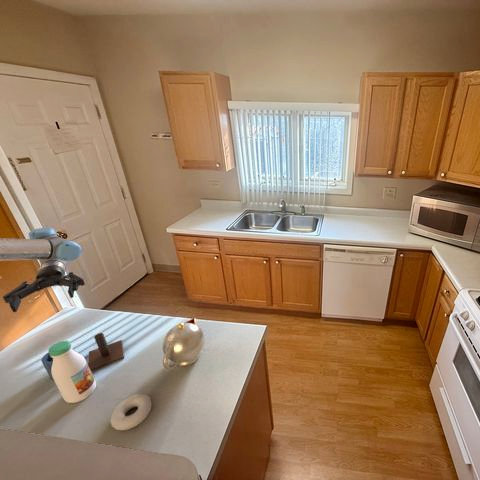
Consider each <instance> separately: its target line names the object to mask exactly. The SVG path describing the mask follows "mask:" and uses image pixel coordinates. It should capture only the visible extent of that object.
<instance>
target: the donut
mask: <svg viewBox="0 0 480 480" xmlns="http://www.w3.org/2000/svg"><path fill="white" fill-rule="evenodd" d="M134 408H137V410H136V411H135V412H134V413H132V414H129V415H126V414H127V413H128V412H129V411H130V410H131V409H134ZM151 409H152V400H151V398H150V396H148V395H146V394H142V393H139V394H134V395H132V396H129V397H127V398H126V399H124V400H122V401H121V402H120V403H119V404H117V406H116V407H115V408H114V410H113V411H112V414H111V415H110V425H111V427H112V428H113V429H114V430H115V431H122V432H123V431H128V430H130V429H133V428H135V427H136V426H138V425H139V424H141V423H142V422H143V421H144V420H146V418H147V416H148V415H149V414H150V411H151Z"/></svg>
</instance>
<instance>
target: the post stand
mask: <svg viewBox="0 0 480 480" xmlns="http://www.w3.org/2000/svg"><path fill="white" fill-rule="evenodd" d="M93 337H94V338H93V339H94V340H95V343H96V346H97V348H95V349H92V350H89V351H88V359H87V361H88V362H87V364H88V366H89V368H90V370H91V372H94V371H96V370H99V369H101V368H103V367H105V366H109V365H111V364H114V363H117V362H119V361H122V360H123V359H125V353H124V343H123V342H124V341H123V339H120V340H118V341H117V340H116V341H114V342H111V343H109V344H108V342H107V340H106V337H105V333H104V332H100V333H97V334H95V335H94V336H93Z"/></svg>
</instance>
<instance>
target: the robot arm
mask: <svg viewBox="0 0 480 480" xmlns="http://www.w3.org/2000/svg"><path fill="white" fill-rule="evenodd" d="M81 254H82V247H81V245H80V244H79V243H76V242H75V241H73V240H69V239H67V238H63V237H61V236H58V233H57V232H56V230H55V229H54V228H53V227H39V228H35V229H32V230H30V231H29V232H28V238H1V237H0V262H7V261H8V262H10V261H12V262H13V261H36V260H39V263H40V266H39V269H38V271H37V274H36V276H35V280H33V281H32V282H28V281H27V280H25V281H23V282H21V283H20V284H19V285H17V287H15V288H14V289H12V290H11V291H9V292H7V293H6V294H5V295H3V296H2V299H3V301H4V302H5V304H8V305H9V308H10V309H11V311H12V313H17V312H18V310H19V307H20V305H21V302H22V300H23V299H25V298H27V297H28V296H31V295H32V294H34V293H36V292H40V291H42V290H44V289H47V288H50V287H52V288H53V287H56V286H58V287H67V288H68V289H67V293H68V296H69V298H70V299H73V298H74V294H75V292H76V291H78V290H79V287H80V286H81V287H82V286H85V285H86V283H85V280H84V278H82V277H80V276H78V275H76V274H75V273H74V271H73V272H72V271H70V272H68V273H67V274H66V272H67V266H68V264H69V262H71V261H72V262H73V261H75V260H77V259H78V258H79V257H80V256H81Z"/></svg>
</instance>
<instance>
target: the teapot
mask: <svg viewBox="0 0 480 480" xmlns="http://www.w3.org/2000/svg"><path fill="white" fill-rule="evenodd" d="M196 321H197V320H196V318H195V317H194V318H191V319H189V320H187V321H185V322H180V323H178V324H177V325H175V326H173V327H171V328H170V329H169V330H168V331H167V332H166V334H165V336H164V338H163V341H162V351H163V354H164V356H163V358H162V366H163V369H164V370H165V371H167V372H171V371H173V370H175V369H176V368H177V367H187V366H191V365H192V364H194V363H195V362H196V361H197V360H198V359H199V357H200V355H201V352H202V350H203V348H204V346H205V341H206V337H205V333H204V331H203V329H202V328H201V327H200V326H199V325H197V324H196ZM169 361H170V362H172V363H173V364H171V365H169Z"/></svg>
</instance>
